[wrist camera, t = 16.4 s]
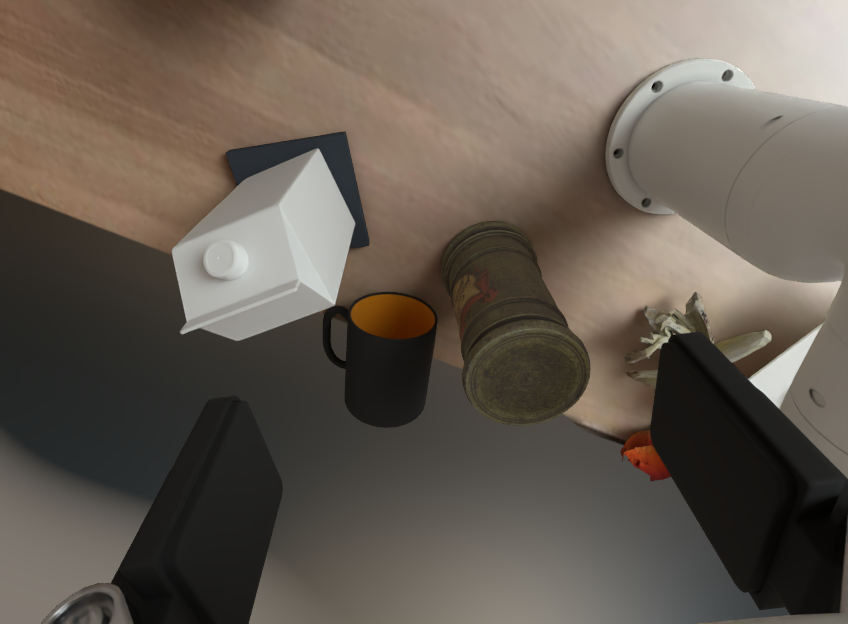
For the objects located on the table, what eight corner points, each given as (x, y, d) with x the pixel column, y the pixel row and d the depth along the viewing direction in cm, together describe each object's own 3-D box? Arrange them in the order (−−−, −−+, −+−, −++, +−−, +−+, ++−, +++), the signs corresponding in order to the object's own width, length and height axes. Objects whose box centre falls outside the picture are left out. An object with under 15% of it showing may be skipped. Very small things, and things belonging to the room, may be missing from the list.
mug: (345, 352, 56) (348, 272, 50) (438, 391, 52) (452, 309, 46) (298, 391, 49) (295, 305, 44) (400, 440, 45) (411, 351, 40)
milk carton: (356, 222, 43) (327, 341, 27) (286, 250, 44) (217, 380, 28) (319, 146, 40) (260, 229, 24) (244, 178, 41) (137, 279, 25)
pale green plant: (581, 323, 54) (710, 256, 43) (671, 357, 61) (802, 306, 49) (592, 398, 49) (739, 345, 38) (687, 425, 56) (836, 386, 45)
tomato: (628, 435, 54) (618, 415, 61) (624, 494, 54) (614, 468, 61) (708, 443, 52) (687, 422, 59) (702, 505, 52) (682, 477, 60)
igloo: (895, 267, 41) (962, 306, 38) (921, 335, 53) (974, 370, 50) (702, 412, 49) (742, 457, 45) (763, 443, 61) (798, 480, 57)
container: (529, 211, 44) (596, 309, 29) (536, 295, 49) (597, 419, 33) (433, 230, 45) (448, 337, 30) (449, 311, 50) (469, 440, 34)
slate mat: (345, 131, 40) (344, 133, 39) (369, 241, 45) (368, 246, 44) (229, 150, 41) (225, 152, 40) (266, 257, 46) (263, 261, 45)
